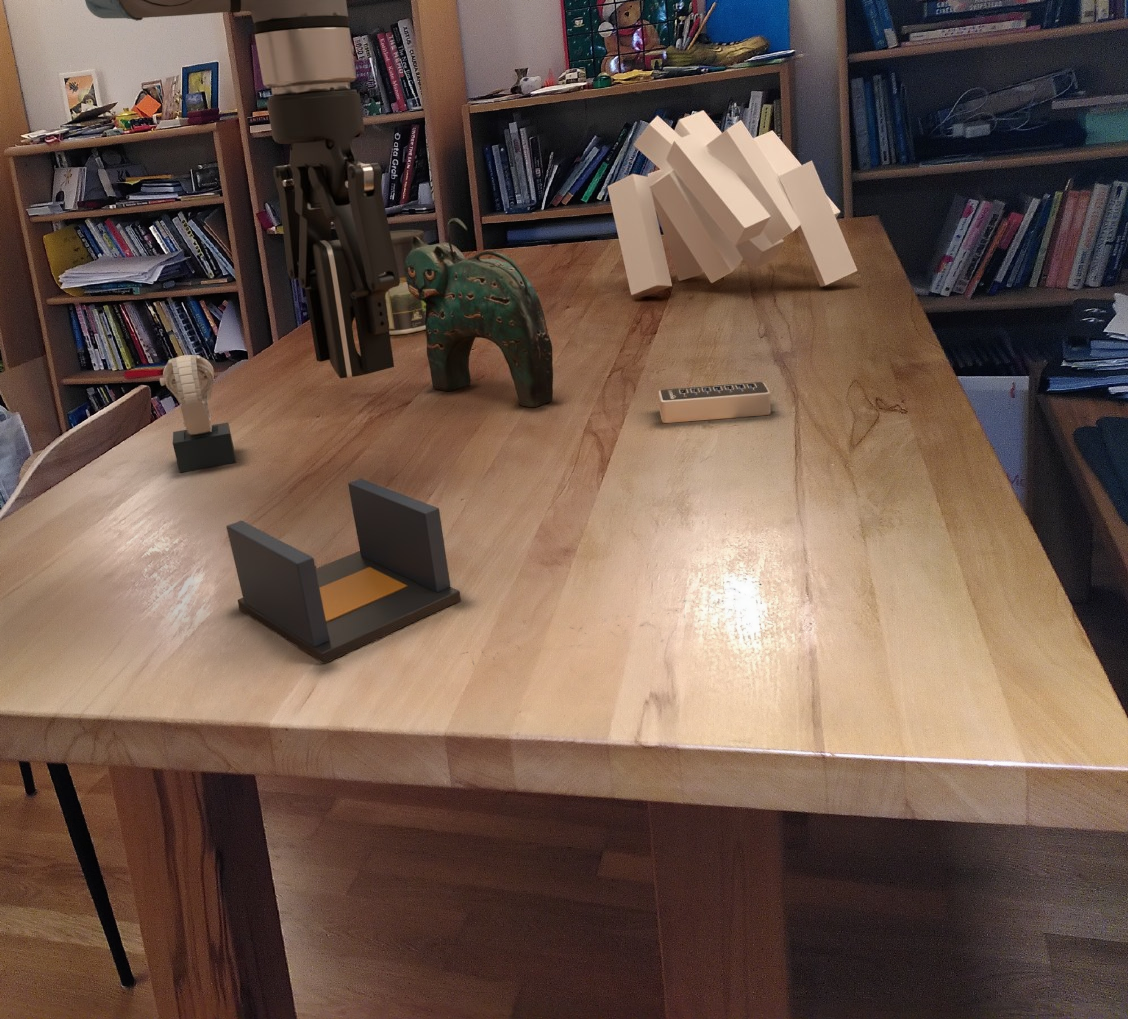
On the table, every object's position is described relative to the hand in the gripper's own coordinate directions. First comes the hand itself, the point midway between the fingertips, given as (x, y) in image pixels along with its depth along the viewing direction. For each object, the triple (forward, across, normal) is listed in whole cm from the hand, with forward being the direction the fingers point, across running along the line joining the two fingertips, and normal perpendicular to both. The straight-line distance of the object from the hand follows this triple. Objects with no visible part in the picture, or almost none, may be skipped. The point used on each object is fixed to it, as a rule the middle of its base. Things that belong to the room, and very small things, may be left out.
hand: (354, 363), depth 94 cm
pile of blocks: (+10, +27, -85) cm, 90 cm away
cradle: (+11, -21, +15) cm, 28 cm away
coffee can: (+11, +55, -41) cm, 69 cm away
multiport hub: (+11, -14, -32) cm, 37 cm away
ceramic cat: (+11, +13, -25) cm, 30 cm away
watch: (+12, +20, +7) cm, 24 cm away
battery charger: (+1, 0, 0) cm, 1 cm away
